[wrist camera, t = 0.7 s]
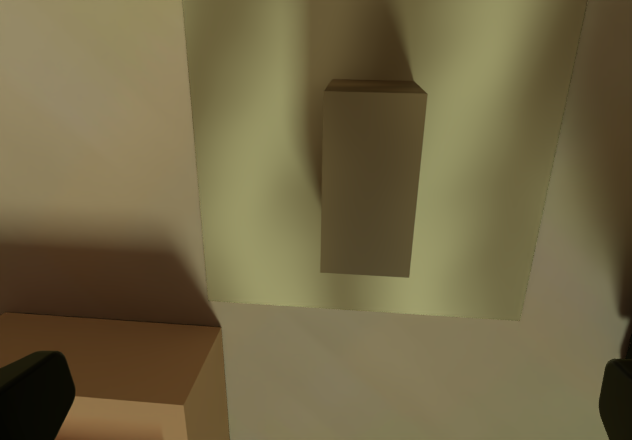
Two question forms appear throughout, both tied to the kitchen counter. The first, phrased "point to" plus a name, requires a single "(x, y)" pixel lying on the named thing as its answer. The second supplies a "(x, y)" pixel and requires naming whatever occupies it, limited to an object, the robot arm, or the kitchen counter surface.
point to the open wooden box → (130, 375)
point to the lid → (377, 148)
